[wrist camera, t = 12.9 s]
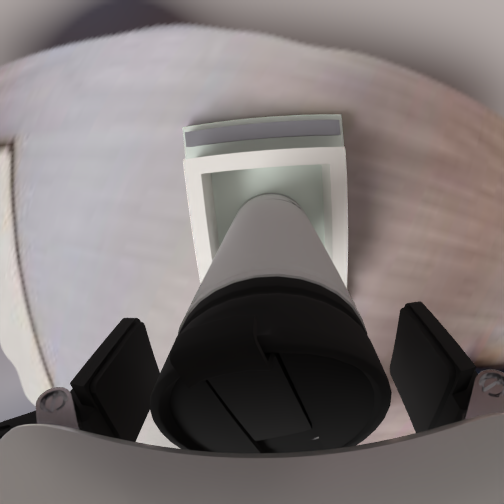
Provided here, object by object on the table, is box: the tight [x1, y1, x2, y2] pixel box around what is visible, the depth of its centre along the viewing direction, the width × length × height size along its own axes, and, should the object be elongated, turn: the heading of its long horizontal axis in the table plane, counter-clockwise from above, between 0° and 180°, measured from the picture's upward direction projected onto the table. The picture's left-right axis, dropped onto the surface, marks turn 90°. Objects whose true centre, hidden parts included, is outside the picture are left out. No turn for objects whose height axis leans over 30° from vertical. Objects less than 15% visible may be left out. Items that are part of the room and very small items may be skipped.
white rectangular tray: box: [182, 114, 348, 288], centre depth 23 cm, size 18×13×4 cm
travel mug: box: [150, 193, 391, 453], centre depth 15 cm, size 6×7×20 cm
